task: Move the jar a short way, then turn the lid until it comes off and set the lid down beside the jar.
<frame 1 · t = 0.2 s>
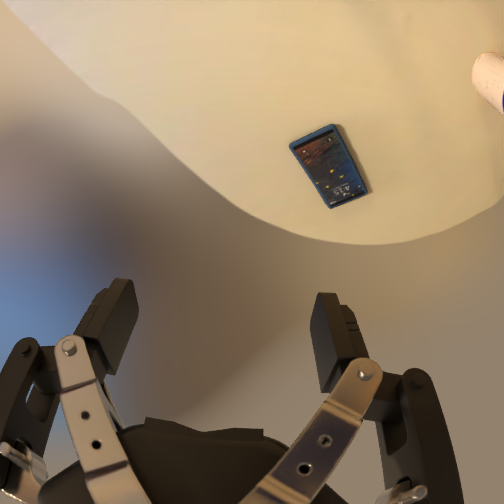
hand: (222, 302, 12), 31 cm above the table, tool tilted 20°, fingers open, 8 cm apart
smartphone: (331, 168, 43), on the table
teacup with lid: (494, 73, 24), on the table
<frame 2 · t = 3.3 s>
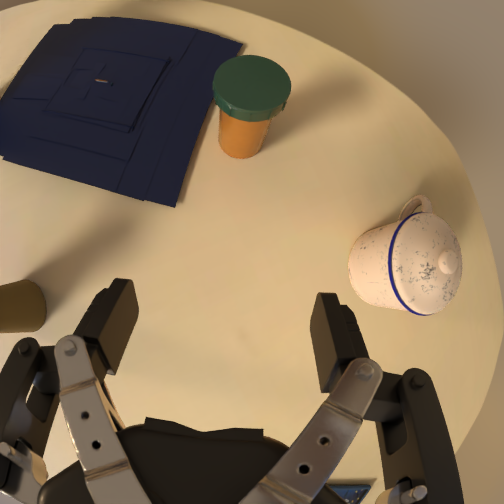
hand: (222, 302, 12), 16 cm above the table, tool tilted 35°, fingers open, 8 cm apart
smartphone: (315, 501, 27), on the table
jar: (240, 138, 29), on the table
brown rounded tall piece: (28, 305, 25), on the table
teacup with lid: (382, 255, 30), on the table
lid: (252, 82, 19), point 10 cm above the table, screwed on, not yet turned
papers: (101, 93, 28), on the table
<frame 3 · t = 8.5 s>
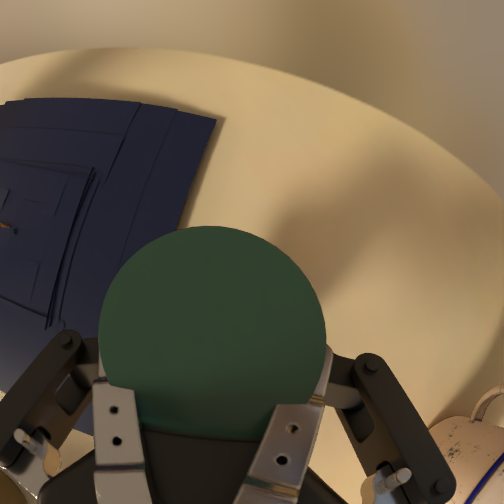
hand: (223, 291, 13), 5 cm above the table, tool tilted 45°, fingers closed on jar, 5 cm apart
brown rounded tall piece: (8, 490, 11), on the table
teacup with lid: (442, 445, 15), on the table
lid: (207, 342, 7), point 10 cm above the table, screwed on, not yet turned
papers: (17, 234, 18), on the table
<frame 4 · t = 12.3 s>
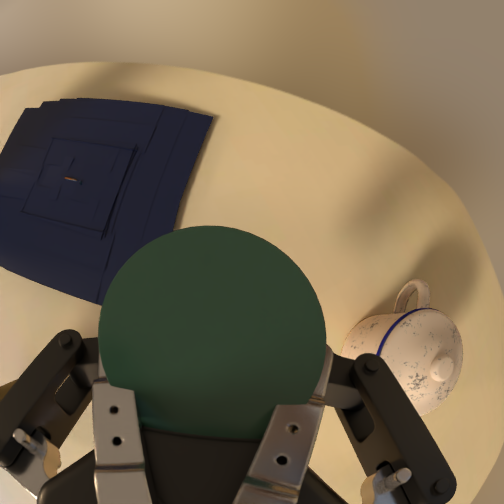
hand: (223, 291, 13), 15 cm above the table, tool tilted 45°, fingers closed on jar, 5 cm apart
teacup with lid: (379, 341, 27), on the table
lid: (207, 341, 7), point 20 cm above the table, screwed on, not yet turned
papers: (75, 188, 30), on the table
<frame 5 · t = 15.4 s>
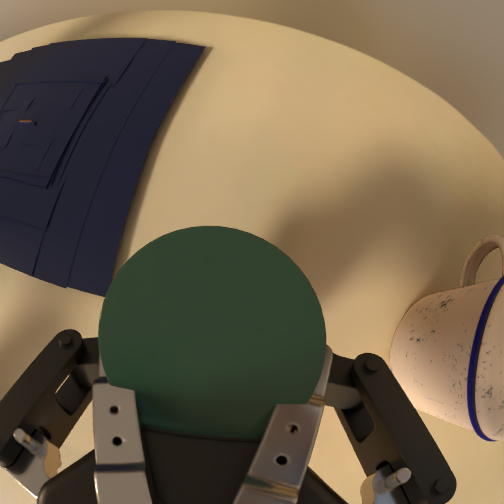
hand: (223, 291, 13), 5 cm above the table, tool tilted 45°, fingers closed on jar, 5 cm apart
teacup with lid: (436, 332, 17), on the table
lid: (207, 342, 7), point 10 cm above the table, screwed on, not yet turned
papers: (33, 137, 20), on the table
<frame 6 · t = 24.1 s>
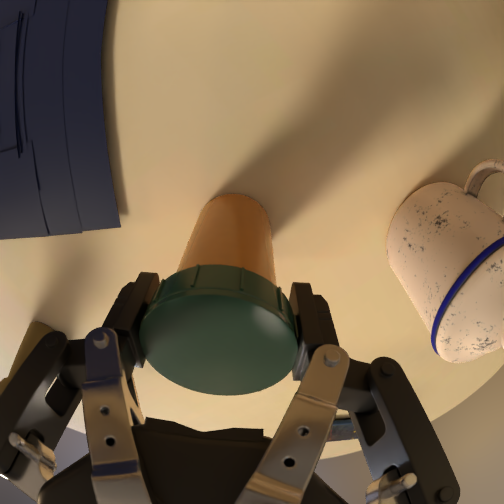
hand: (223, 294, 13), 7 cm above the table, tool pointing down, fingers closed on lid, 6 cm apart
smartphone: (354, 426, 36), on the table
jar: (233, 228, 19), on the table
brown rounded tall piece: (49, 339, 27), on the table
teacup with lid: (436, 215, 18), on the table
lid: (217, 350, 10), point 10 cm above the table, screwed on, not yet turned, touching gripper
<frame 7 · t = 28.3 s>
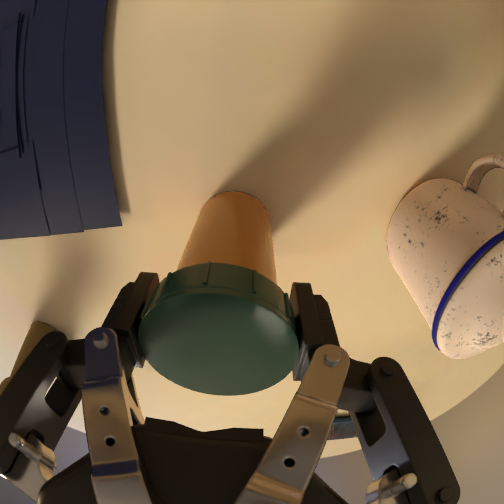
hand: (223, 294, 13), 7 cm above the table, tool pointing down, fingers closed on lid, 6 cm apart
smartphone: (356, 424, 36), on the table
jar: (234, 225, 19), on the table
brown rounded tall piece: (51, 338, 27), on the table
teacup with lid: (436, 211, 18), on the table
lid: (217, 349, 10), point 10 cm above the table, turned 81° so far, risen 0.2 cm, still on its thread, touching gripper
when the fingers open (0 cm above the table, at t = 37.4 s): lid drops 1 cm, resting on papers.
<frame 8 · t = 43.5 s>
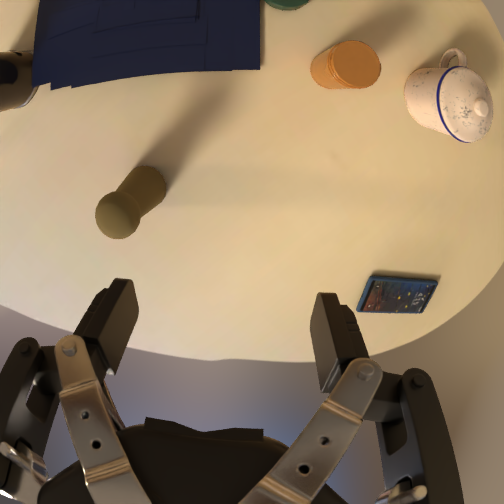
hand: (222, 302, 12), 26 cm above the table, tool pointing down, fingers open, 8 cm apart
smartphone: (397, 294, 45), on the table
jar: (329, 70, 28), on the table
brown rounded tall piece: (146, 186, 36), on the table
teacup with lid: (429, 88, 28), on the table
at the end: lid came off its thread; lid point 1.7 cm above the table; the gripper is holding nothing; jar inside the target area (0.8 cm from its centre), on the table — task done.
